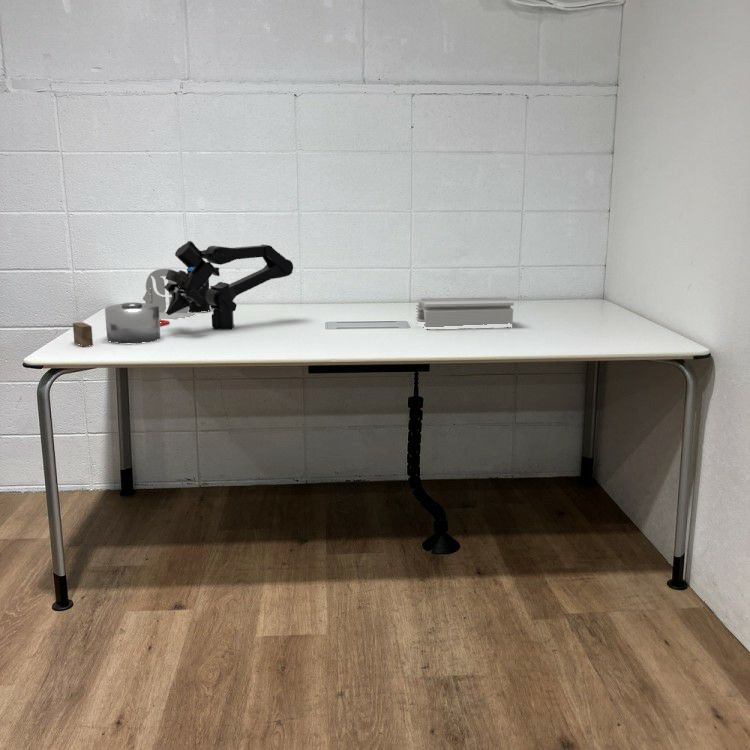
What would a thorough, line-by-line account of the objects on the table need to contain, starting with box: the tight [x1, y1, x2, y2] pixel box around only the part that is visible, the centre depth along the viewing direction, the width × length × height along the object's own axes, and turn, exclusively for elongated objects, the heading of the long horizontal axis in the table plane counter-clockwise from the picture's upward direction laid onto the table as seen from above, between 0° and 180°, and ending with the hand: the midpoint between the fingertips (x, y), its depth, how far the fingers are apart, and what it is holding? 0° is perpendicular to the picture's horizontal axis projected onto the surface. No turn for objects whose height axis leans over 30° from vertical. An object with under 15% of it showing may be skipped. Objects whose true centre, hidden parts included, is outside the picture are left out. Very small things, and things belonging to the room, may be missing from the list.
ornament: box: [142, 268, 196, 320], centre depth 286 cm, size 22×13×17 cm, turn 81°
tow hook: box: [149, 288, 170, 327], centre depth 273 cm, size 8×13×9 cm
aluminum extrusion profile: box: [415, 296, 515, 327], centre depth 276 cm, size 14×31×10 cm, turn 100°
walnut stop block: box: [72, 321, 94, 347], centre depth 240 cm, size 3×8×6 cm, turn 38°
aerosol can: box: [186, 267, 211, 313], centre depth 299 cm, size 8×8×20 cm
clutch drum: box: [104, 302, 161, 344], centre depth 248 cm, size 16×16×11 cm
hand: (167, 314), depth 255 cm, fingers closed
